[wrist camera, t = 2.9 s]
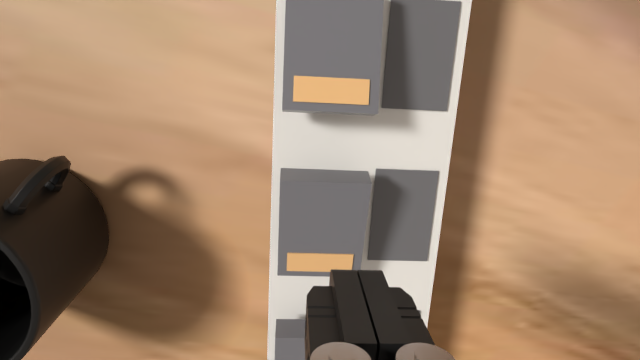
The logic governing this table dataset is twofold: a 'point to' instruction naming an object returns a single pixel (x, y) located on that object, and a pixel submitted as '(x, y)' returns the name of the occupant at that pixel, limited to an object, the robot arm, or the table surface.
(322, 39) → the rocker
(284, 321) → the block
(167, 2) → the table surface
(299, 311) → the power strip
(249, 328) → the table surface
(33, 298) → the mug
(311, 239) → the plate
